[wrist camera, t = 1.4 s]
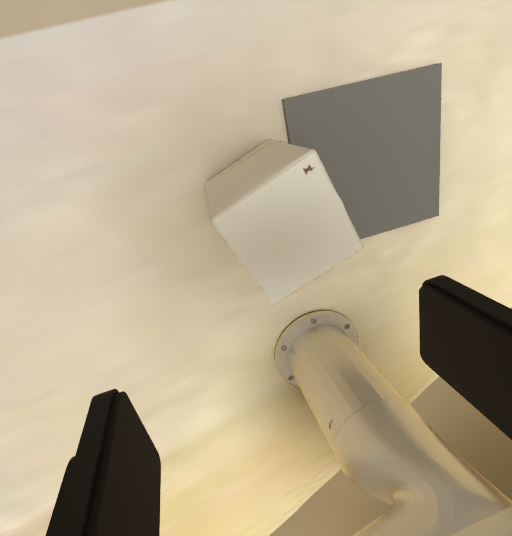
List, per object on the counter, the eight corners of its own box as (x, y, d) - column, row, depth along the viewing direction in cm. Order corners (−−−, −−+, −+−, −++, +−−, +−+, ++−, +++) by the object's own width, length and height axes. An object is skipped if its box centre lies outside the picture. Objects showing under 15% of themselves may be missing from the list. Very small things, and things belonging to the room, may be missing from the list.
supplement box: (201, 183, 36) (205, 218, 22) (269, 136, 35) (316, 143, 22) (245, 246, 40) (271, 309, 26) (307, 206, 39) (368, 248, 26)
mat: (435, 214, 45) (438, 215, 44) (306, 253, 42) (308, 254, 41) (437, 64, 37) (441, 63, 37) (281, 99, 35) (283, 99, 34)
